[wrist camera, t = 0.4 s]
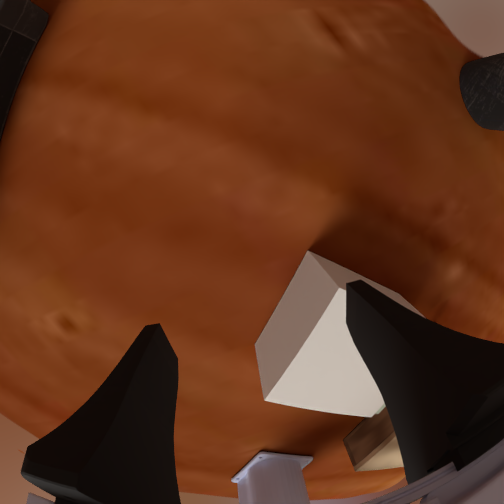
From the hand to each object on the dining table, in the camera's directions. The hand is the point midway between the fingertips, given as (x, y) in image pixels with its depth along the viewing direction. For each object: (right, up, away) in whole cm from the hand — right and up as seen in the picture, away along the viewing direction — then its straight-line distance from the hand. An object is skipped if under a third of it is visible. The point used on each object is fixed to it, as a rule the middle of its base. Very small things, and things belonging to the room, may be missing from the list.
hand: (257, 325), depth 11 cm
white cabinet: (+6, -3, +13) cm, 15 cm away
